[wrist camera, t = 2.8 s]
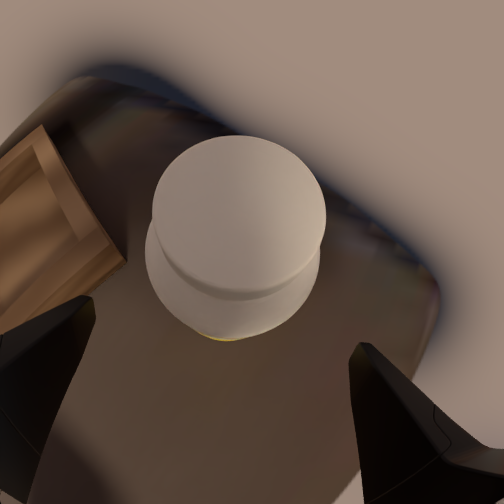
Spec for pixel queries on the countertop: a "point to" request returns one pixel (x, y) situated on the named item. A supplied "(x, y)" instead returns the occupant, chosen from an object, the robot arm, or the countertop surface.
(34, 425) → the robot arm
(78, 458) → the countertop surface
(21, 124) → the countertop surface
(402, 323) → the countertop surface
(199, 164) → the supplement bottle
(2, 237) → the box
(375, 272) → the countertop surface
